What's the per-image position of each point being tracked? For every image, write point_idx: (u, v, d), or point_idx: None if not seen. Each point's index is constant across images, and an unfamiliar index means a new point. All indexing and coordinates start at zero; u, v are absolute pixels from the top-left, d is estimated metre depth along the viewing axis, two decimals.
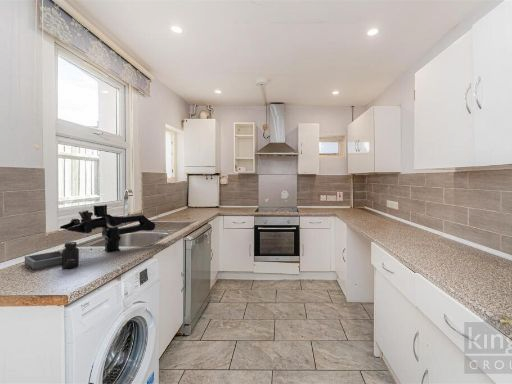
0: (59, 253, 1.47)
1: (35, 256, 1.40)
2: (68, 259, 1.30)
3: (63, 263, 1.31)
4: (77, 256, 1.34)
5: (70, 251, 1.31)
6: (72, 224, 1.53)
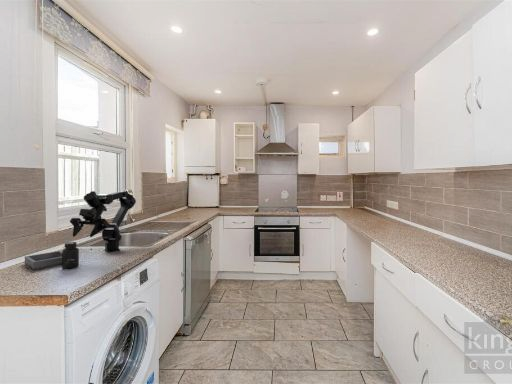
0: (59, 253, 1.47)
1: (35, 256, 1.40)
2: (68, 259, 1.30)
3: (63, 263, 1.31)
4: (77, 256, 1.34)
5: (70, 251, 1.31)
6: (78, 226, 1.45)
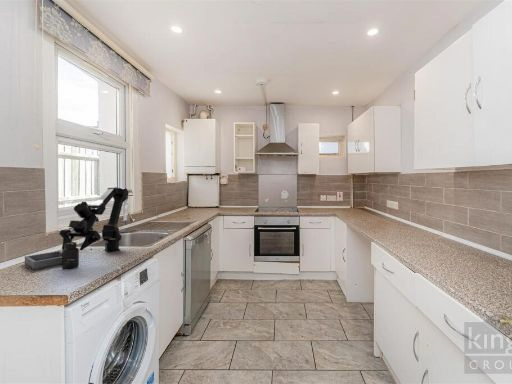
0: (59, 253, 1.47)
1: (35, 256, 1.40)
2: (68, 259, 1.30)
3: (63, 263, 1.31)
4: (77, 256, 1.34)
5: (70, 251, 1.31)
6: (67, 238, 1.38)
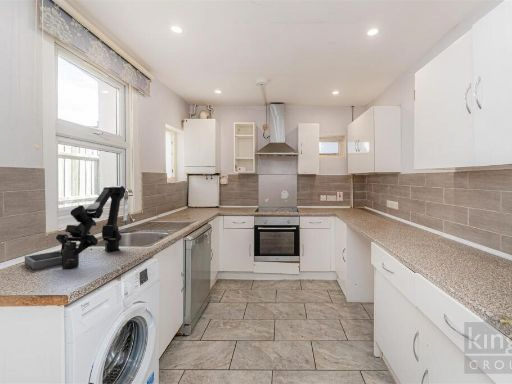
0: (59, 253, 1.47)
1: (35, 256, 1.40)
2: (68, 259, 1.30)
3: (63, 263, 1.31)
4: (77, 256, 1.34)
5: (70, 251, 1.31)
6: (66, 242, 1.36)
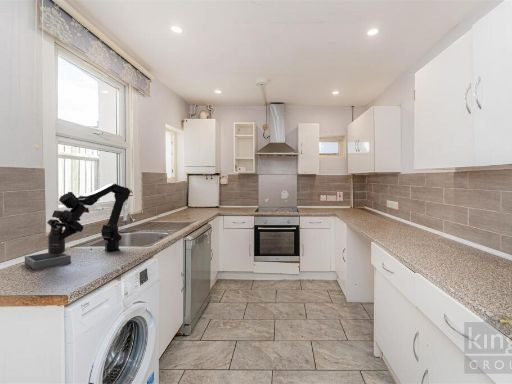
0: None
1: (35, 256, 1.40)
2: (52, 244, 1.32)
3: (48, 248, 1.33)
4: (62, 242, 1.34)
5: (54, 236, 1.32)
6: None
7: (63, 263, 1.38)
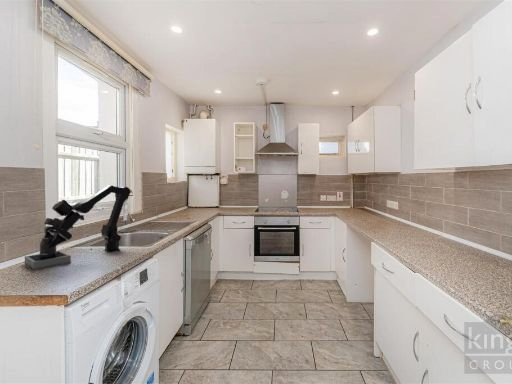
0: (59, 253, 1.47)
1: (35, 256, 1.40)
2: (42, 253, 1.36)
3: None
4: (51, 251, 1.37)
5: (43, 246, 1.36)
6: (49, 234, 1.43)
7: (63, 263, 1.38)
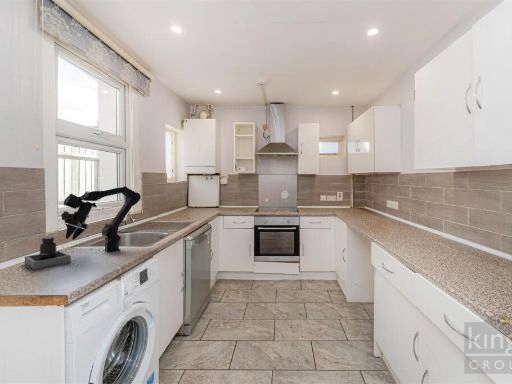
0: (59, 253, 1.47)
1: (35, 256, 1.40)
2: (42, 253, 1.36)
3: None
4: (51, 251, 1.37)
5: (43, 246, 1.36)
6: (77, 229, 1.55)
7: (63, 263, 1.38)
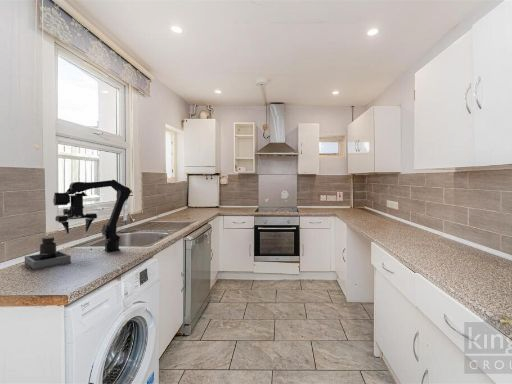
0: (59, 253, 1.47)
1: (35, 256, 1.40)
2: (42, 253, 1.36)
3: None
4: (51, 251, 1.37)
5: (43, 246, 1.36)
6: (86, 220, 1.57)
7: (63, 263, 1.38)
